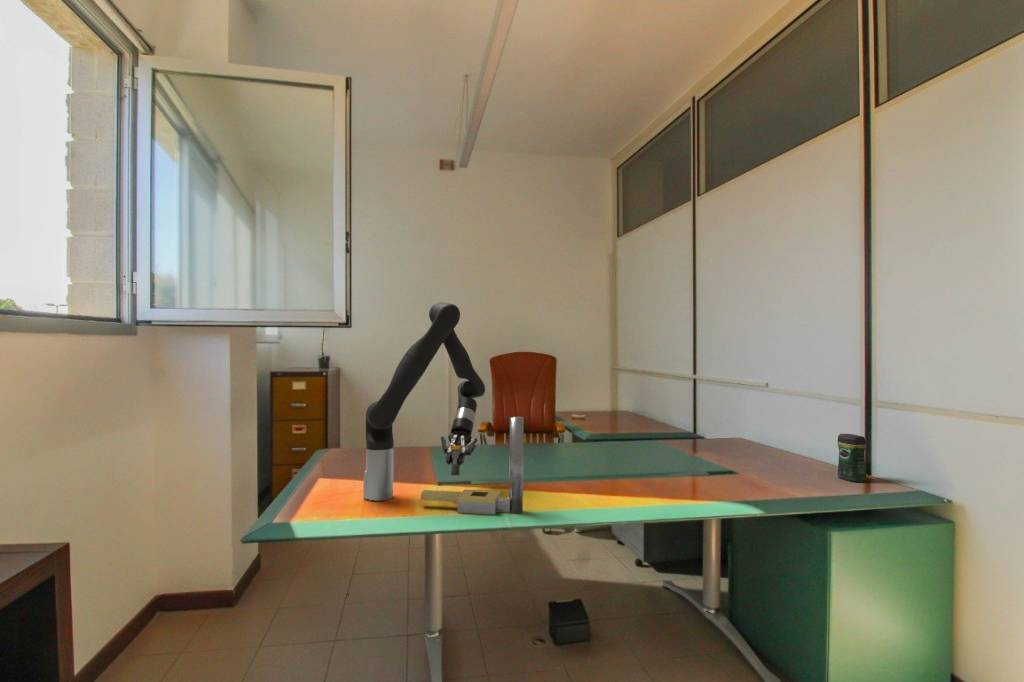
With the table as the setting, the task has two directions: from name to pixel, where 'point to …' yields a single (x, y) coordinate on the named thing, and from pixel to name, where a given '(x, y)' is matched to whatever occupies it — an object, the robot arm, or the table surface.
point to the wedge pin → (455, 459)
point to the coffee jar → (851, 457)
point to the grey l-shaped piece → (491, 500)
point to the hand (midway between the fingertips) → (454, 463)
